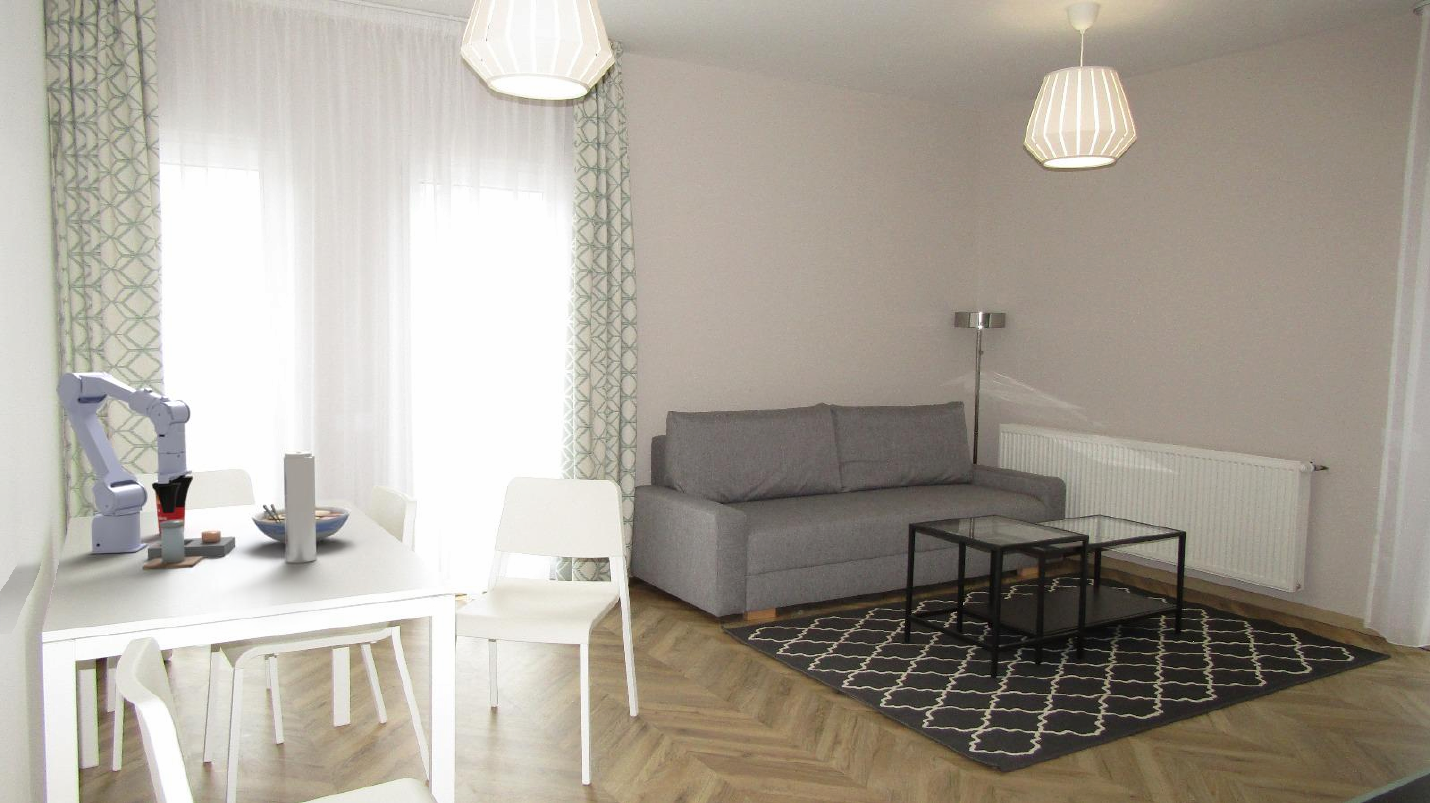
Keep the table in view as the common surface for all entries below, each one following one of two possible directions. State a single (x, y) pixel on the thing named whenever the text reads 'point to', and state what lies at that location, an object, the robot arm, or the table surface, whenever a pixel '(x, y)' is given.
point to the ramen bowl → (326, 516)
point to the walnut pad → (158, 563)
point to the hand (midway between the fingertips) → (174, 510)
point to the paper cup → (177, 515)
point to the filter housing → (198, 548)
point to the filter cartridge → (172, 541)
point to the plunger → (211, 536)
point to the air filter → (299, 507)
